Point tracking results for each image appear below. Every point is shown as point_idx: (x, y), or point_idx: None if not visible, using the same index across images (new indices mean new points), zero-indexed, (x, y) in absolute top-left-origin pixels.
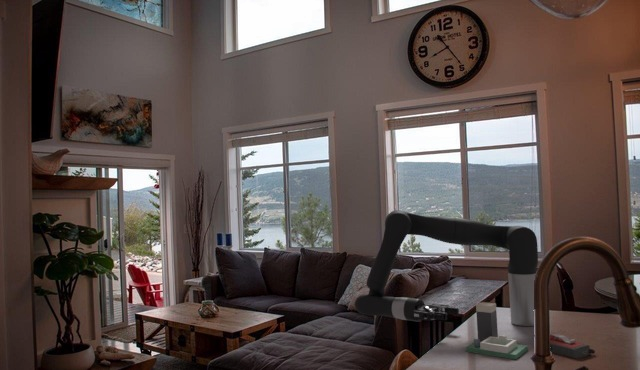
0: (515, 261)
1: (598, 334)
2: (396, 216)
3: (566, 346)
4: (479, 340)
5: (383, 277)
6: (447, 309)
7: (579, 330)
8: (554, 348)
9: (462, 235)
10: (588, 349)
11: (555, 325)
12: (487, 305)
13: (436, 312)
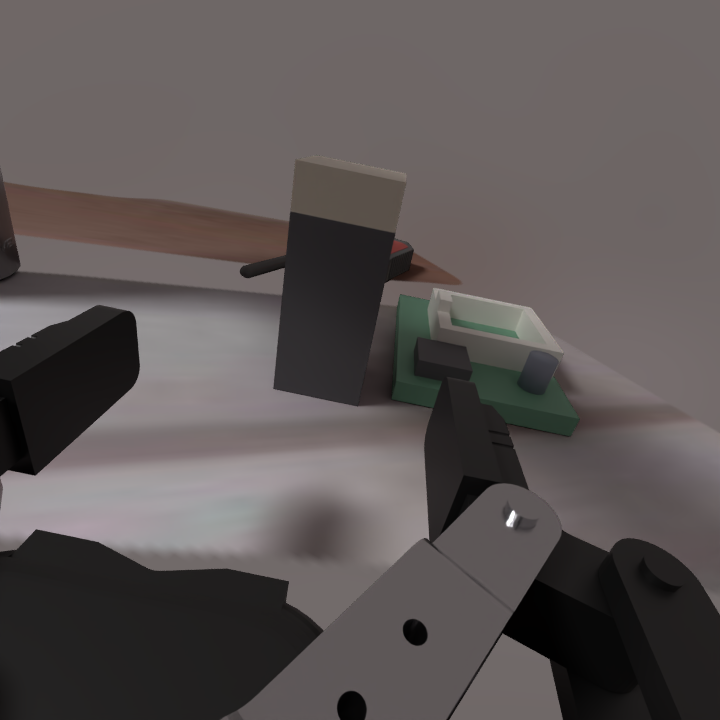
0: None
1: (163, 217)
2: None
3: (401, 249)
4: (537, 353)
5: None
6: (21, 409)
7: (112, 223)
8: (389, 269)
9: None
10: None
11: (18, 233)
12: (394, 173)
13: (496, 464)
